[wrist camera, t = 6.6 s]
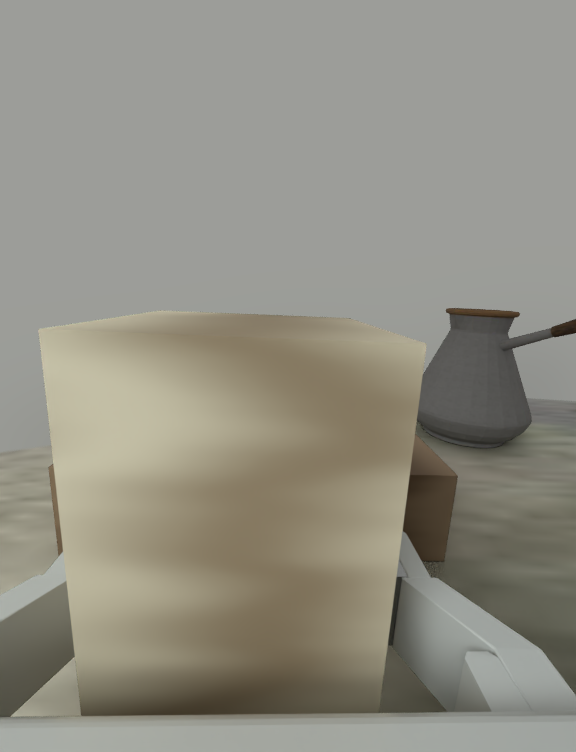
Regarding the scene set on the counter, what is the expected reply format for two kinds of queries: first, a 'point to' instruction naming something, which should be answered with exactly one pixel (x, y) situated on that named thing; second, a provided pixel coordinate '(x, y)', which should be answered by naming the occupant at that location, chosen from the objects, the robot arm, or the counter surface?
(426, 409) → the coffee pot
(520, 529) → the counter surface
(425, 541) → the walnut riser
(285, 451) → the birch block
